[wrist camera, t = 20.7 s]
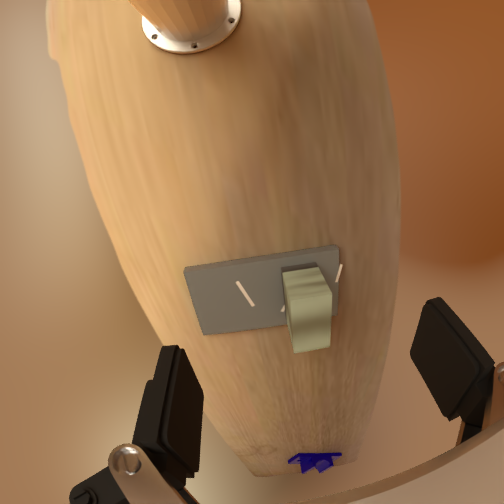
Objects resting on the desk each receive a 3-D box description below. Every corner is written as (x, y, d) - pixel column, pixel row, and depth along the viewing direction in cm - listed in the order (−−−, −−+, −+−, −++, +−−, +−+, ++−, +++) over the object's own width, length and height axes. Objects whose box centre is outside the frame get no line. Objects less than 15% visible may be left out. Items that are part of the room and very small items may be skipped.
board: (185, 267, 40) (183, 272, 38) (339, 244, 39) (342, 248, 38) (204, 329, 45) (203, 335, 43) (338, 309, 44) (340, 314, 43)
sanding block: (280, 267, 39) (290, 300, 31) (315, 261, 39) (332, 293, 31) (285, 317, 43) (294, 353, 35) (316, 311, 42) (329, 346, 35)
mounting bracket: (287, 459, 74) (289, 473, 69) (298, 452, 72) (300, 467, 66) (329, 459, 78) (332, 472, 73) (340, 451, 75) (344, 465, 70)
